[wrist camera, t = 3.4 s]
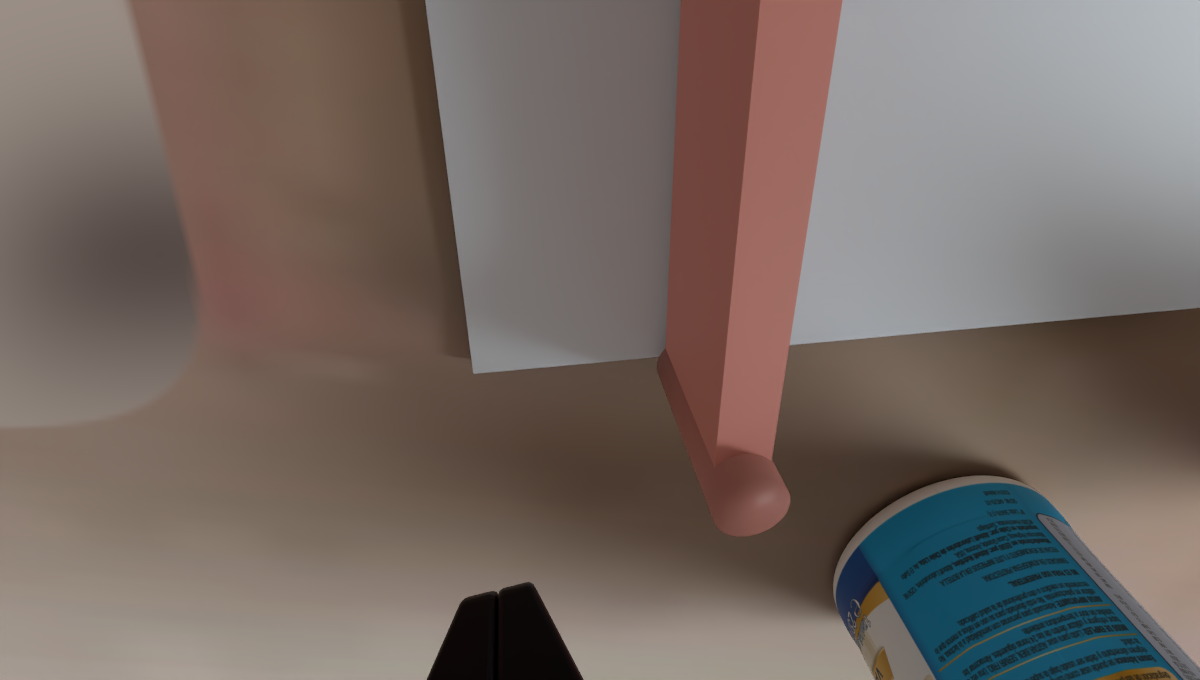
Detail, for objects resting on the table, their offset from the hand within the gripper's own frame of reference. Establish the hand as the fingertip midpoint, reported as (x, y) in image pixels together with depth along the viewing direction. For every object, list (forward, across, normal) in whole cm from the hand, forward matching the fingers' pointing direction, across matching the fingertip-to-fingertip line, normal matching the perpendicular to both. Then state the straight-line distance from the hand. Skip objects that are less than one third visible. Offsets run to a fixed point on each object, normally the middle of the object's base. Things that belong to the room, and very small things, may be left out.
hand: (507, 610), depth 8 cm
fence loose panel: (+9, -5, -1) cm, 11 cm away
